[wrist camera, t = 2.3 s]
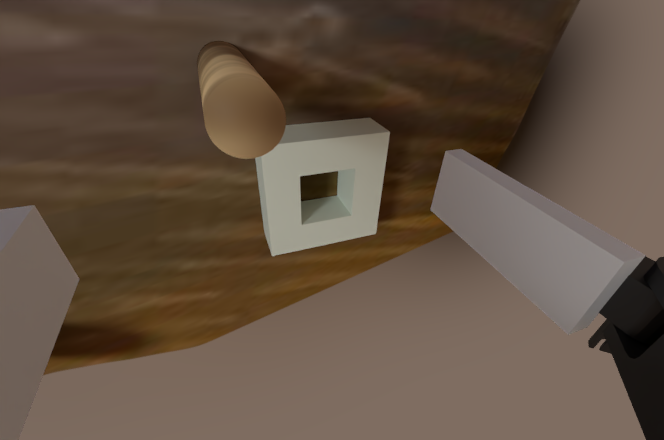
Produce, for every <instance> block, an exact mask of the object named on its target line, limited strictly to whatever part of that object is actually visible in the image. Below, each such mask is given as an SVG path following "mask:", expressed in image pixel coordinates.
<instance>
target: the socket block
mask: <svg viewBox="0 0 664 440" xmlns="http://www.w3.org/2000/svg"><path fill="white" fill-rule="evenodd" d="M389 136H390V131H388V130H387V129H385V128H384V127H383V126H381V125H380V124H378V123H377V122H375V121H374V120H372V119H371V118H361V119H350V120H339V121H328V122H317V123H306V124H295V125H286V127H285V131H284V134H283V137H282V139H281V140H280V142H279V143H278V144H277V146H276V147H275V148H274V149H273V150H271V151H270V152H268V153H267V154H265V155H263V156H260V157H257V158H255V159H256V167H257V175H258V184H259V192H260V200H261V208H262V217H263V225H264V232H265V236H266V239H267V242H268V245H269V248H270V251H271V254H272V256H275V255H280V254H285V253H289V252H294V251H298V250H303V249H308V248H312V247H317V246H322V245H326V244H331V243H335V242H340V241H345V240H349V239H354V238H359V237H363V236H368V235H373V234H376V229H377V222H378V215H379V208H380V201H381V194H382V186H383V179H384V172H385V165H386V158H387V151H388V144H389ZM334 171H338V187H337V196H331V197H325V198H319V199H313V200H307V201H301V192H300V176H306V175H313V174H320V173H327V172H334Z"/></svg>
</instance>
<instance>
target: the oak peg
mask: <svg viewBox="0 0 664 440" xmlns="http://www.w3.org/2000/svg"><path fill="white" fill-rule="evenodd" d="M197 67H198V75H199V83H200V90H201V98H202V106H203V113H204V121H205V127H206V130H207V133H208V135H209V137H210V138H211V140H212V141H213V143H214V144H215V145H216V146H217V147H218V148H219V149H220V150H222V151H223V152H225V153H227V154H229V155H231V156H234V157H237V158H243V159H251V158H257V157H260V156H263V155H265V154H267V153H268V152H270V151H271V150H273V149H274V148H275V147H276V146H277V144H278V143H279V142H280V140H281V139H282V137H283V134H284V131H285V127H286V114H285V110H284V107H283V104H282V102H281V100H280V99H279V97H278V96H277V94H276V93H275V92H274V91H273V90H272V89H271V87H270V86H269V85H268V84H267V83H266V82H265V80H264V79H263V78H262V77H261V76H260V75H259V73H258V72H257V71H256V70H255V69H254V68H253V66H252V65H251V64H250V63H249V62H248V60H247V59H246V58H245V57H244V56H243V55H242V53H241V52H240V51H239V50H238V49H237V48H236V47H235V46H233V45H232V44H230V43H227V42H224V41H214V42H210V43H208V44H207V45H205V46H204V47H203V48H202V49H201V51H200V53H199V55H198V59H197Z"/></svg>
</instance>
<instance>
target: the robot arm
mask: <svg viewBox="0 0 664 440" xmlns="http://www.w3.org/2000/svg"><path fill="white" fill-rule="evenodd" d="M430 210H431V211H432V212H433V213H434V214H435V215H437V216H438V217H439V218H440V219H441V220H442V221H443V222H444V223H445V224H447V225H448V226H449V227H450V228H451V229H452V230H453V231H454V232H455V233H456V234H458V235H459V236H460V237H461V238H462V239H463V240H464V241H465V242H466V243H467V244H469V245H470V246H471V247H472V248H473V249H474V250H475V251H477V253H479V254H480V255H481V256H482V257H483V258H484V259H485V260H486V261H488V263H490V264H491V265H492V266H493V267H494V268H495V269H496V270H497V271H498V272H500V273H501V274H502V275H503V276H504V277H505V278H506V279H507V280H508V281H509V282H511V283H512V284H513V285H514V286H515V287H516V288H517V289H518V290H519V291H521V292H522V293H523V294H524V295H525V296H526V297H527V298H528V299H529V300H531V301H532V302H533V303H534V304H535V305H536V306H537V307H538V308H539V309H541V310H542V311H543V312H544V313H545V314H546V315H547V316H548V317H549V318H550V319H552V320H553V321H554V322H555V323H556V324H557V325H558V326H559V327H560V328H561V329H562V330H564V331H565V332H566V333H567V334H568V335H569V334H572V333H574V332H577V331H579V330H582V329H584V328H587V327H588V326H589V324H590V323H591V322H592V321H593V320H594V318H595V317H596V316H597V315H598V313H600V314H602V315H603V316H604V317H605V318H607V319H606V321H605V322H604V323H603V324H602V325H601V326H600V328H599V329H598V330H597V331H596V332H595V334H594V335H593V336H592V337H591V338H590V340H589V347H590V348H594V347H595V346H596V345H597V343H599V341H600V340H601V339H606V341H605V342H604V343H603V344H602V345H601V347H600V350H601V351H604V352H608V353H611V354H612V356H613V358H614V360H615V363H616V365H617V368H618V371H619V373H620V376H621V378H622V380H623V383H624V386H625V388H626V391H627V393H628V396H629V398H630V400H631V403H632V406H633V408H634V411H635V413H636V416H637V418H638V420H639V423H640V425H641V428H642V430H643V433H644V436H645V438H646V440H664V257H660V258H658V260H657V261H656V262H655V261H653V260H651V259H649V258H647V257H646V255H644V254H642V253H641V252H639V251H637V250H635V249H634V248H632V247H630V246H628V245H627V244H625V243H623V242H622V241H620V240H618V239H616V238H614V237H613V236H611V235H609V234H608V233H606V232H604V231H602V230H601V229H599V228H597V227H596V226H594V225H592V224H590V223H589V222H587V221H585V220H583V219H582V218H580V217H578V216H577V215H575V214H573V213H571V212H570V211H568V210H566V209H564V208H563V207H561V206H559V205H557V204H556V203H554V202H552V201H551V200H549V199H547V198H545V197H544V196H542V195H540V194H539V193H537V192H535V191H533V190H532V189H530V188H528V187H526V186H525V185H523V184H521V183H520V182H518V181H516V180H514V179H513V178H511V177H509V176H507V175H506V174H504V173H502V172H500V171H499V170H497V169H495V168H494V167H492V166H490V165H488V164H487V163H485V162H483V161H482V160H480V159H478V158H476V157H475V156H473V155H471V154H469V153H468V152H466V151H464V150H463V149H457V150H449V151H445V155H444V159H443V163H442V167H441V171H440V174H439V178H438V182H437V186H436V190H435V194H434V198H433V202H432V206H431V209H430ZM78 281H79V278H78V276H77V274H76V273H75V271H74V269H73V268H72V266H71V264H70V263H69V261H68V260H67V258H66V256H65V255H64V253H63V251H62V250H61V248H60V246H59V245H58V243H57V242H56V240H55V238H54V237H53V235H52V233H51V232H50V230H49V228H48V227H47V225H46V224H45V222H44V220H43V219H42V217H41V215H40V214H39V212H38V210H37V209H36V207H35V206H34V205H33V206H25V207H18V208H10V209H2V210H0V440H19V437H20V434H21V432H22V429H23V426H24V424H25V421H26V418H27V416H28V413H29V410H30V408H31V405H32V403H33V400H34V397H35V395H36V392H37V389H38V387H39V384H40V382H41V379H42V376H43V374H44V371H45V368H46V366H47V363H48V360H49V358H50V355H51V352H52V350H53V347H54V345H55V342H56V339H57V337H58V334H59V331H60V329H61V326H62V323H63V321H64V318H65V315H66V313H67V310H68V308H69V305H70V302H71V300H72V297H73V294H74V292H75V289H76V286H77V284H78Z"/></svg>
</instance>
